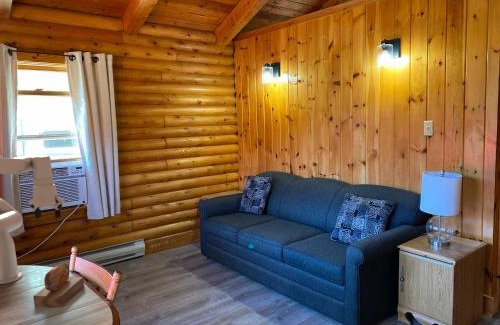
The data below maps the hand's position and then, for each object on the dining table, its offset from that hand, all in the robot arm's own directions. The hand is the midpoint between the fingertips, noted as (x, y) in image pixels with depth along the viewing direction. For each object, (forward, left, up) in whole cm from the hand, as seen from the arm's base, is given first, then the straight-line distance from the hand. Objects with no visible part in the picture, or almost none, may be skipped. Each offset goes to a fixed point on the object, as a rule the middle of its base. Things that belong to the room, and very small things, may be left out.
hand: (48, 217), depth 189 cm
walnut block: (+13, -18, -30) cm, 38 cm away
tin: (+12, -18, -26) cm, 34 cm away
